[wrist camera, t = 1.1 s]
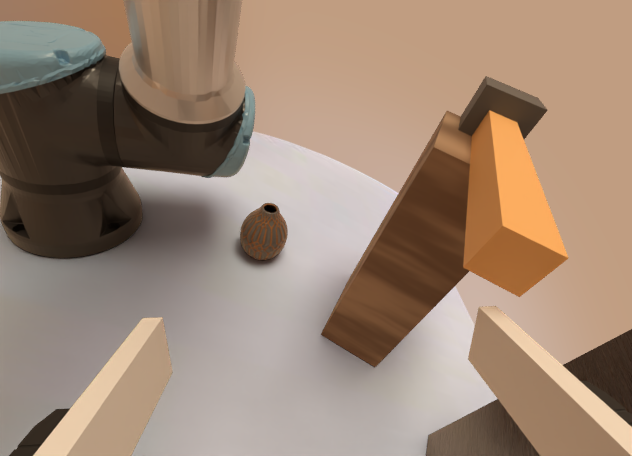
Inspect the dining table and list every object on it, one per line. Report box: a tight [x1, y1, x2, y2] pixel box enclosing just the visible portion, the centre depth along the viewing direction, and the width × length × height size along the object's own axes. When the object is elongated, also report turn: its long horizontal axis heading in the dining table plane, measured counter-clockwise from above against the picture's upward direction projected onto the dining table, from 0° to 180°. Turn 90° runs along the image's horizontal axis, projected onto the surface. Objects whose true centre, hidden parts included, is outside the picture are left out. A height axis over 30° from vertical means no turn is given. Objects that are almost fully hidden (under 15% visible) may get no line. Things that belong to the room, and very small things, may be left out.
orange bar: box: [458, 76, 568, 297], centre depth 20 cm, size 24×5×4 cm, turn 155°
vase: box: [240, 203, 287, 260], centre depth 45 cm, size 7×7×9 cm
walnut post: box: [321, 111, 472, 367], centre depth 35 cm, size 12×8×28 cm, turn 155°
